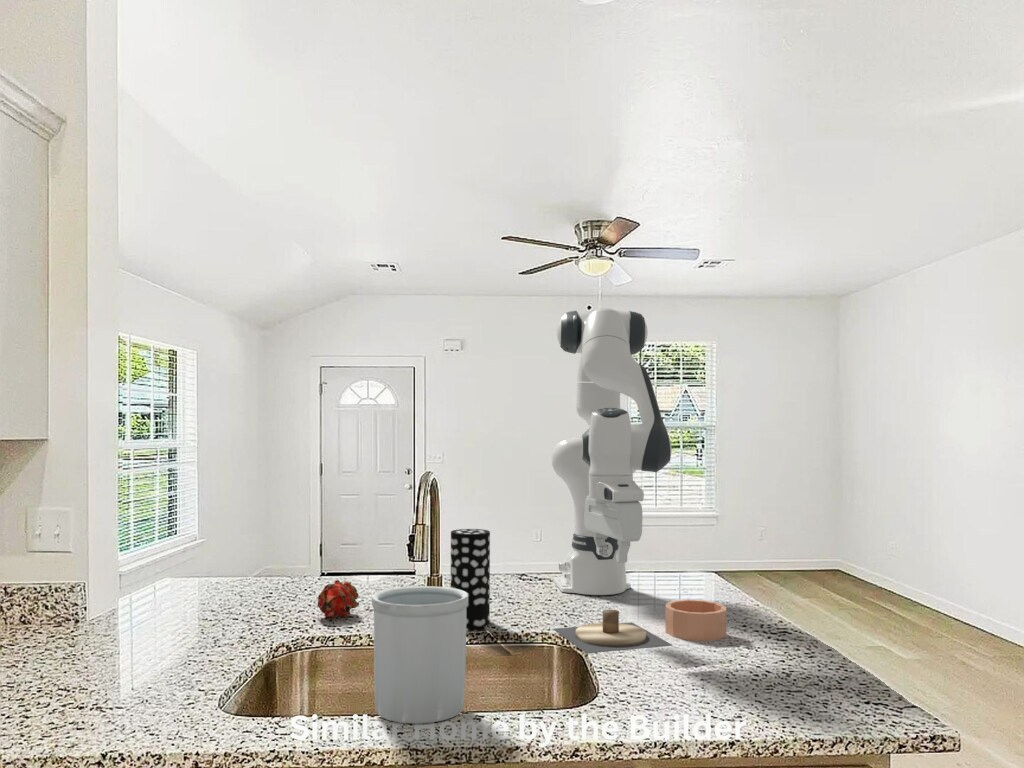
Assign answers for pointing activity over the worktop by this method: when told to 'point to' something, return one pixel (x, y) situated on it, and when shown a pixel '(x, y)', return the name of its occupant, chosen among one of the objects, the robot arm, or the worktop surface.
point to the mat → (590, 648)
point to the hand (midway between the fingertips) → (611, 558)
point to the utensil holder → (419, 653)
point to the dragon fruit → (338, 599)
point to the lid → (610, 632)
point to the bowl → (696, 620)
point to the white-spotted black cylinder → (472, 573)
